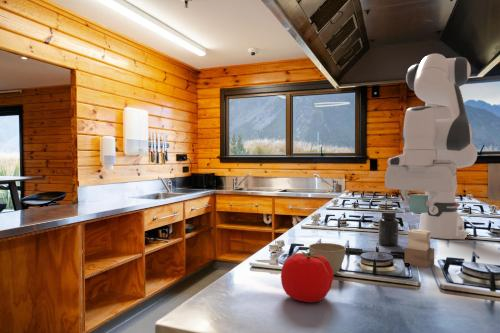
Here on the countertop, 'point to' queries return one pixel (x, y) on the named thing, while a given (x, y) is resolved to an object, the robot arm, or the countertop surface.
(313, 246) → the flower pot
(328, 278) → the tomato
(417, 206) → the green cube
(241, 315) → the countertop surface
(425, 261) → the tower base
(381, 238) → the supplement bottle
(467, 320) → the countertop surface
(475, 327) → the countertop surface
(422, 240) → the tower top
